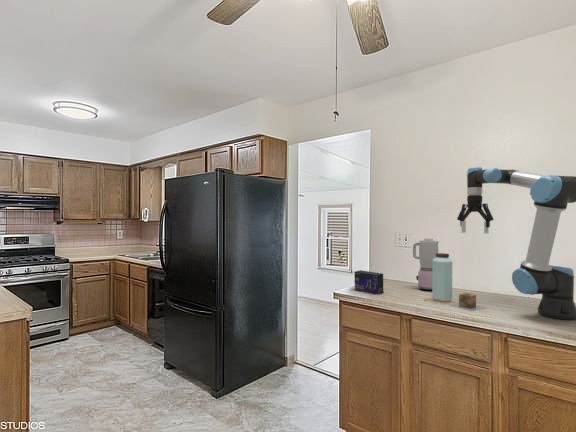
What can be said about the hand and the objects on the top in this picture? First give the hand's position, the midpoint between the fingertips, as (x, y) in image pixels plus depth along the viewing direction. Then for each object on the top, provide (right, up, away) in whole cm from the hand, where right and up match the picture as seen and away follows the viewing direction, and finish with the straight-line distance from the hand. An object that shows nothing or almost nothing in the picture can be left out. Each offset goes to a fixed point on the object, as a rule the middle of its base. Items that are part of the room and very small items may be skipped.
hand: (474, 233), depth 199 cm
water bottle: (-22, -36, -8) cm, 43 cm away
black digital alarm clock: (-56, -37, +17) cm, 69 cm away
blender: (-18, -37, +24) cm, 48 cm away
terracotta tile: (-22, -37, -8) cm, 43 cm away
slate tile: (-15, -37, -22) cm, 45 cm away
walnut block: (-15, -36, -22) cm, 44 cm away
